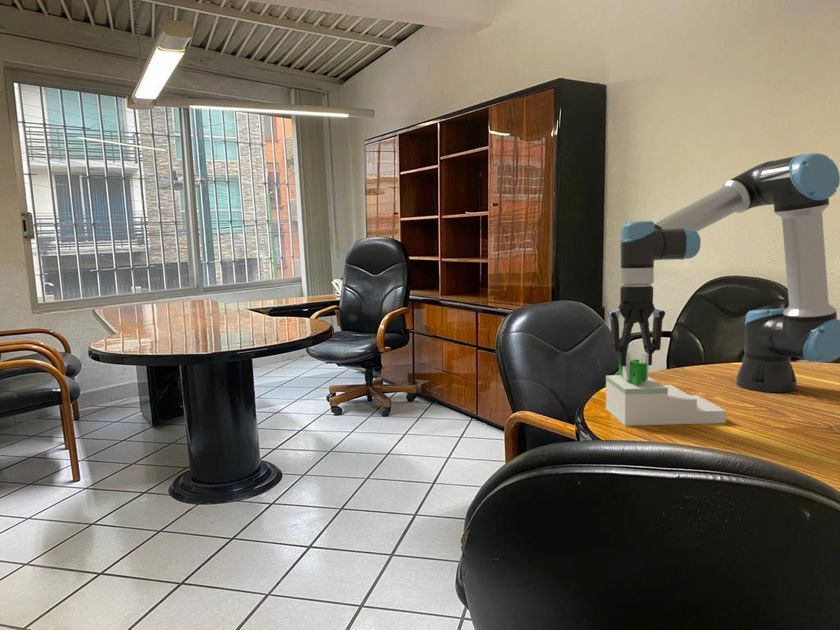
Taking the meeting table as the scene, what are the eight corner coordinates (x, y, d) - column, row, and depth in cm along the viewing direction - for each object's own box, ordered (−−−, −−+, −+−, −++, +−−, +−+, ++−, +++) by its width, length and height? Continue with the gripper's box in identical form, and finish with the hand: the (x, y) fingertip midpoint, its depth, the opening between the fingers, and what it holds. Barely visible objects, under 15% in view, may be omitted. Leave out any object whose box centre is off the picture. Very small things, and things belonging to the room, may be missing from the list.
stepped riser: (696, 406, 143) (697, 372, 142) (725, 423, 129) (727, 386, 128) (605, 408, 144) (605, 375, 143) (624, 425, 130) (625, 389, 129)
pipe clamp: (651, 384, 130) (652, 366, 130) (636, 385, 130) (636, 366, 130) (633, 373, 142) (633, 356, 141) (618, 374, 142) (619, 357, 141)
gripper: (664, 283, 136) (662, 374, 139) (597, 285, 137) (596, 376, 139) (678, 285, 129) (676, 381, 132) (607, 287, 129) (606, 383, 132)
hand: (635, 378), depth 136 cm, fingers closed on pipe clamp, 4 cm apart
